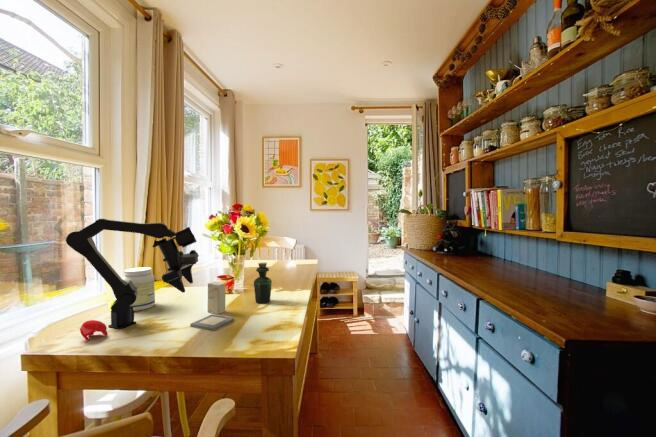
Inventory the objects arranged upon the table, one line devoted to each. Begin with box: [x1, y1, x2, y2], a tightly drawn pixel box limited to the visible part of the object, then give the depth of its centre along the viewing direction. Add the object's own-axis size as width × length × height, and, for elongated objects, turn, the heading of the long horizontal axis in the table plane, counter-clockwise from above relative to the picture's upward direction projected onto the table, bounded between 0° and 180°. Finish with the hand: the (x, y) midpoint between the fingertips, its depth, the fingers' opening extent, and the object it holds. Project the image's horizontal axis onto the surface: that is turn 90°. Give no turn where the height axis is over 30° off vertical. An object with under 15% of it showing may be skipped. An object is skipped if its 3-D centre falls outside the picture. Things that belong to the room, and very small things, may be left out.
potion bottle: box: [253, 262, 273, 305], centre depth 144 cm, size 8×8×18 cm
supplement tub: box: [121, 266, 156, 312], centre depth 137 cm, size 12×12×17 cm
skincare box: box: [207, 281, 226, 315], centre depth 131 cm, size 6×4×12 cm
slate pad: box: [189, 313, 235, 332], centre depth 118 cm, size 11×11×1 cm
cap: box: [79, 319, 109, 342], centre depth 105 cm, size 8×6×6 cm
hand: (188, 287), depth 126 cm, fingers open, 9 cm apart
